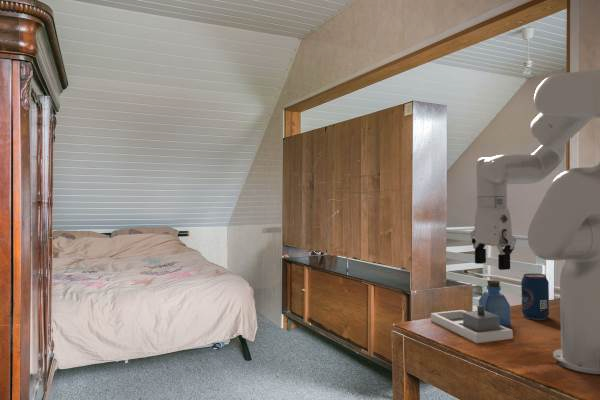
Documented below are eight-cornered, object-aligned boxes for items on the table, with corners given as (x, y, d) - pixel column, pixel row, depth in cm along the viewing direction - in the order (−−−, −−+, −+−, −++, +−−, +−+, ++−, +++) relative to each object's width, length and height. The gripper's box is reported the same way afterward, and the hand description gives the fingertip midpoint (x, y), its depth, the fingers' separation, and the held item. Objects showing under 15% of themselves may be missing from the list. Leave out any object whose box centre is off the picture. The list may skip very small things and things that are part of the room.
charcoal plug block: (499, 336, 110) (499, 308, 110) (478, 339, 109) (477, 310, 109) (484, 329, 116) (483, 302, 116) (463, 332, 115) (462, 304, 115)
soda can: (516, 314, 133) (515, 273, 132) (538, 313, 134) (537, 272, 134) (532, 321, 126) (531, 278, 126) (555, 319, 127) (554, 276, 127)
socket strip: (512, 342, 109) (512, 330, 109) (476, 347, 106) (476, 334, 106) (462, 320, 128) (462, 309, 128) (431, 323, 126) (430, 313, 126)
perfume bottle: (502, 322, 126) (501, 279, 125) (510, 329, 119) (509, 283, 119) (479, 322, 126) (478, 279, 126) (486, 329, 120) (485, 283, 120)
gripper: (526, 203, 115) (527, 271, 116) (482, 201, 132) (483, 260, 132) (501, 204, 113) (501, 273, 114) (460, 202, 130) (460, 261, 130)
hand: (491, 266), depth 123 cm, fingers open, 9 cm apart
